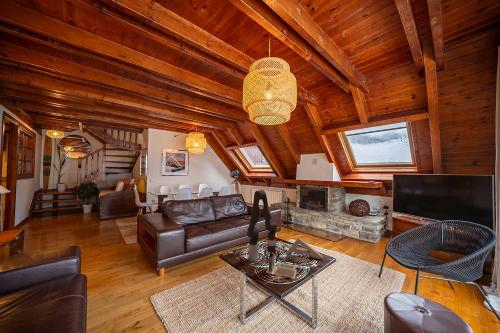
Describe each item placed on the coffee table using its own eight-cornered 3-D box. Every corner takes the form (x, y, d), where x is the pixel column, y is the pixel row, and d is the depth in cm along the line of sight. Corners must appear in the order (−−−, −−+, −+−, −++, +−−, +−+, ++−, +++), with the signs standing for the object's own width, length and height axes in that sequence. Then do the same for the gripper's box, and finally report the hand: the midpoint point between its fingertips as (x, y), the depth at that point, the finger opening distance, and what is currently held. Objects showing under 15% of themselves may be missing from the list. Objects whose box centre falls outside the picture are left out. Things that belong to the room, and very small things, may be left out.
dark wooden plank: (272, 272, 178) (271, 257, 178) (268, 271, 179) (268, 256, 179) (274, 267, 187) (274, 252, 186) (271, 266, 188) (271, 252, 187)
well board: (265, 273, 178) (265, 266, 178) (269, 265, 191) (269, 259, 191) (294, 279, 168) (294, 272, 168) (296, 270, 182) (296, 264, 181)
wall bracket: (309, 272, 207) (286, 253, 214) (309, 270, 211) (287, 251, 218) (322, 257, 202) (298, 238, 210) (322, 255, 206) (298, 237, 214)
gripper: (263, 244, 181) (263, 261, 182) (278, 246, 176) (278, 264, 176) (265, 241, 188) (265, 258, 189) (279, 243, 183) (280, 260, 183)
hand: (271, 261), depth 182 cm, fingers open, 8 cm apart
